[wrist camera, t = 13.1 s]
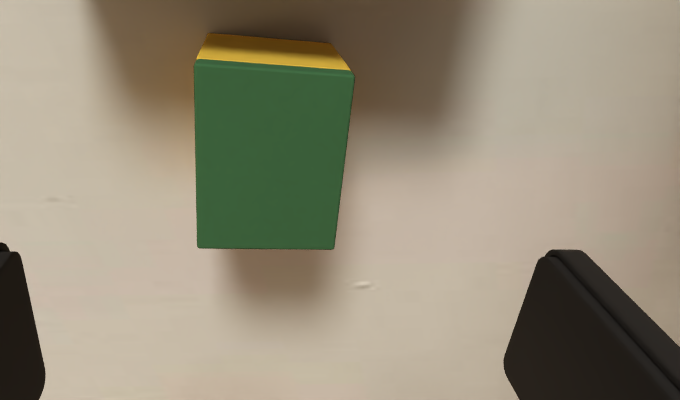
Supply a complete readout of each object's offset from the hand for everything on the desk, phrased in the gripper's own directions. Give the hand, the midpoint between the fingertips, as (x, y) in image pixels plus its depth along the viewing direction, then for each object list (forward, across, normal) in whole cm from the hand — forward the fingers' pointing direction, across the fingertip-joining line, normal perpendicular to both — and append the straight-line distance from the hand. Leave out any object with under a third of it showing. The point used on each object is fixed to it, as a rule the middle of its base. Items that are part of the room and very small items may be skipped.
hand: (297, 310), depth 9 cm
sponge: (+14, 0, +1) cm, 14 cm away
